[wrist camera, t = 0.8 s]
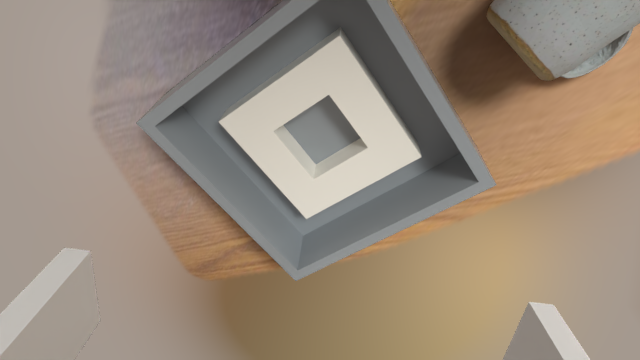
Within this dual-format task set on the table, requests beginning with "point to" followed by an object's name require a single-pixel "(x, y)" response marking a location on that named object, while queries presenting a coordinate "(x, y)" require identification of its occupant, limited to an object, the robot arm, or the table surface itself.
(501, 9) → the ceramic mug
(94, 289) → the robot arm
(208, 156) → the grey box
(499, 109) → the table surface
